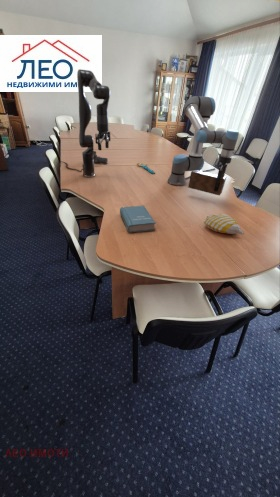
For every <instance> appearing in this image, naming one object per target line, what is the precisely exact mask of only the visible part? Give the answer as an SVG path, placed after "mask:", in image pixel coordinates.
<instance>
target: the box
mask: <svg viewBox="0 0 280 497" xmlns="http://www.w3.org/2000/svg"><path fill="white" fill-rule="evenodd" d="M202 171H203V170H200V171H198V170H193V171H190V175H189V176H190V178H189V182H188V186H187V188H188V189H192V190H197V191H200V192H203V193H208V194H211V195H214V196H221V195H222V193H223V190H224V186H225V183H226V180H227V176H225V175H224V176H222V177H221V180H220V185H219V189H218V192H217V191H214V188H215V184H216V182H215V181H216V179H217V175H218V174H215V173H210V172H207V171H205V172H202Z"/></svg>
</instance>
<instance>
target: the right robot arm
mask: <svg viewBox="0 0 280 497" xmlns="http://www.w3.org/2000/svg"><path fill="white" fill-rule="evenodd" d="M215 100H216V99H214V97H212V96H202V95H201V96H199V95H193V96H190V97H189V98H188V99H187V100H186V101H185V103H184V106H183V111H184V114H185V116H186V117H187V118H189V121H190V122H191V126H193V129H194V133H193V139H192V145H191V151H190V153H188V155H187V154H183V153H182V154H181V153H179V154H176V155H175V156H173V158H172V164H171V172H170V174H169V177H168V179H167V183H168V184H169V185H172V186H177V187H178V186H179V187H181V186H185V185H186V180H188V179H190V176H191V175H189V176H188V177H185V174H186V172H192V171H193V170H198V171H202V172H209V171H214V170H215V168H211V169H205V170H202V169H203V168H204V165H205V158H204V156H203V153H202V152H203V147H204V144H221V145H222V148H221V151H220V156H219V159H218V162H219V163H220V165H219V168H218V172H217V174H216V175H217V179H216V181H215V182H216V184H215V188H214V191H217V192H218V189H219V185H220V180H221V177H222V176H224V177H225V175H226V171H227V167H228V164H229V165H230V164H231V162H232V159H233V154H235V149H236V146H237V142H238V139H239V135H240V132H239V130H236V129H227V130H226V131H225V130H224V129H219V130H210V129H209V127H208V121H209V120H210V119H211V117H212V116H213V115H214V113H215V111H216V101H215Z"/></svg>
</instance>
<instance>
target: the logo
mask: <svg viewBox="0 0 280 497" xmlns="http://www.w3.org/2000/svg"><path fill="white" fill-rule="evenodd" d="M137 166H138V167H141V168H143V169H145V170H146V171H147V172H149V173H150V174H152V175H153V174H154V175H155V174H156V172H155V171H154V170H152V169H150V168H149V166H147V163H144V162H142V163H141V162H137Z"/></svg>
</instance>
